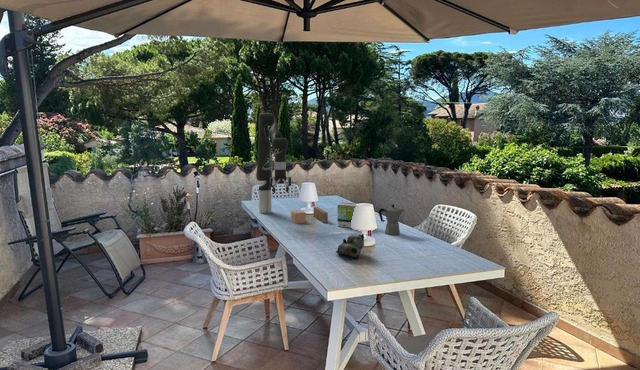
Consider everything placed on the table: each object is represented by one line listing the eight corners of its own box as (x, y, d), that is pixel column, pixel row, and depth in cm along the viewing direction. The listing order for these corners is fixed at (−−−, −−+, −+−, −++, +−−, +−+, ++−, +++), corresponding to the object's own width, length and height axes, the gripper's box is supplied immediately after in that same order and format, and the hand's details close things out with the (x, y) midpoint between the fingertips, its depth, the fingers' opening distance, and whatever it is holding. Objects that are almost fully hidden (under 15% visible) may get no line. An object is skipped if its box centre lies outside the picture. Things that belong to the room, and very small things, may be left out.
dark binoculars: (333, 252, 224) (343, 227, 226) (355, 261, 224) (364, 236, 227) (338, 252, 209) (348, 226, 212) (360, 262, 210) (370, 235, 212)
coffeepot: (401, 231, 266) (402, 202, 264) (404, 235, 257) (405, 205, 254) (376, 231, 266) (377, 203, 263) (379, 235, 256) (379, 206, 254)
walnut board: (313, 216, 307) (313, 207, 306) (317, 216, 308) (317, 207, 307) (323, 223, 289) (323, 212, 288) (327, 222, 290) (327, 212, 289)
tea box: (337, 226, 278) (337, 204, 276) (342, 223, 288) (342, 201, 286) (359, 228, 273) (359, 206, 271) (363, 225, 282) (363, 203, 280)
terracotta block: (291, 221, 295) (291, 211, 294) (302, 220, 298) (302, 210, 297) (294, 223, 288) (294, 213, 287) (305, 222, 291) (305, 212, 290)
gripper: (289, 167, 288) (289, 191, 291) (268, 168, 283) (268, 192, 286) (292, 168, 281) (292, 192, 284) (271, 169, 276) (271, 194, 279)
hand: (280, 192), depth 285 cm, fingers open, 8 cm apart
